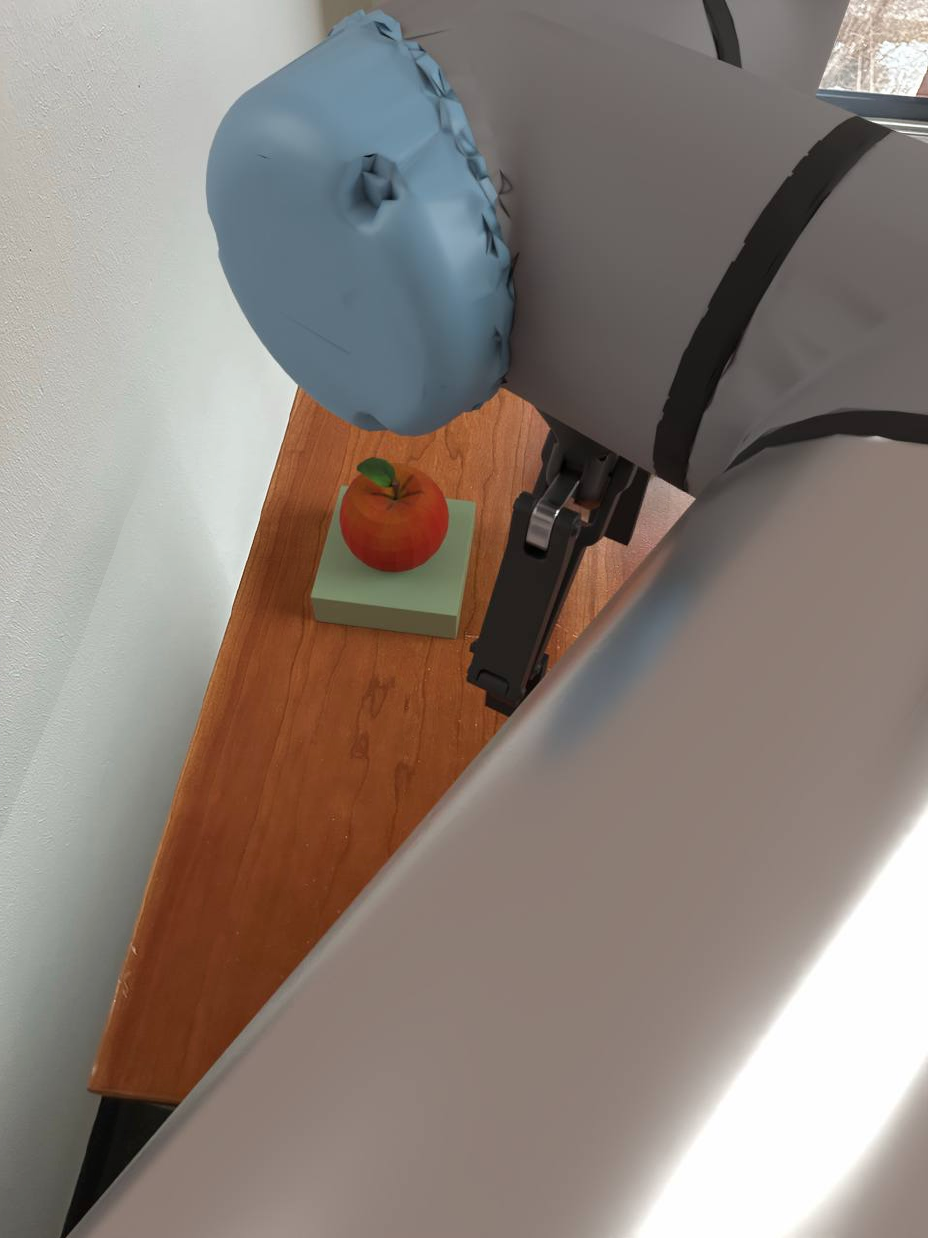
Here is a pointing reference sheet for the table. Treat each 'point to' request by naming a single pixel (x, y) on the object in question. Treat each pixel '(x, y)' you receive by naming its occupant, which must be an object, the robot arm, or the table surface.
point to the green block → (396, 582)
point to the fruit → (393, 516)
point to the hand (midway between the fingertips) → (562, 616)
